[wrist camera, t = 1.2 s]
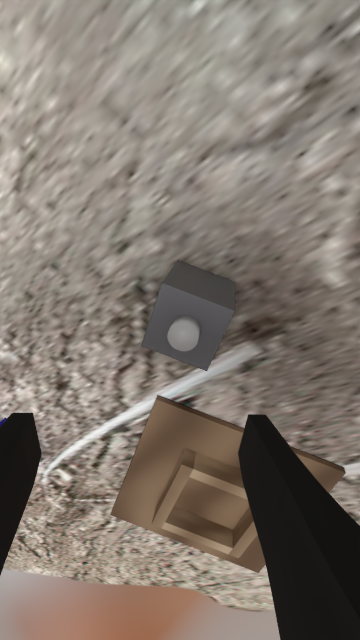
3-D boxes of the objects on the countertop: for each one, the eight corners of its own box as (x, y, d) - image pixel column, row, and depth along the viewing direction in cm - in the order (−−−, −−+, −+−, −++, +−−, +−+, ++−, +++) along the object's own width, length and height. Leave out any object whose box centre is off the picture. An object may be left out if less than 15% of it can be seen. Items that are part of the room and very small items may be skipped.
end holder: (343, 467, 25) (352, 492, 23) (258, 567, 32) (259, 592, 30) (157, 395, 26) (150, 413, 24) (112, 510, 32) (104, 531, 31)
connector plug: (235, 281, 21) (234, 318, 15) (212, 332, 22) (205, 381, 17) (178, 260, 21) (157, 289, 15) (160, 311, 23) (136, 354, 17)
